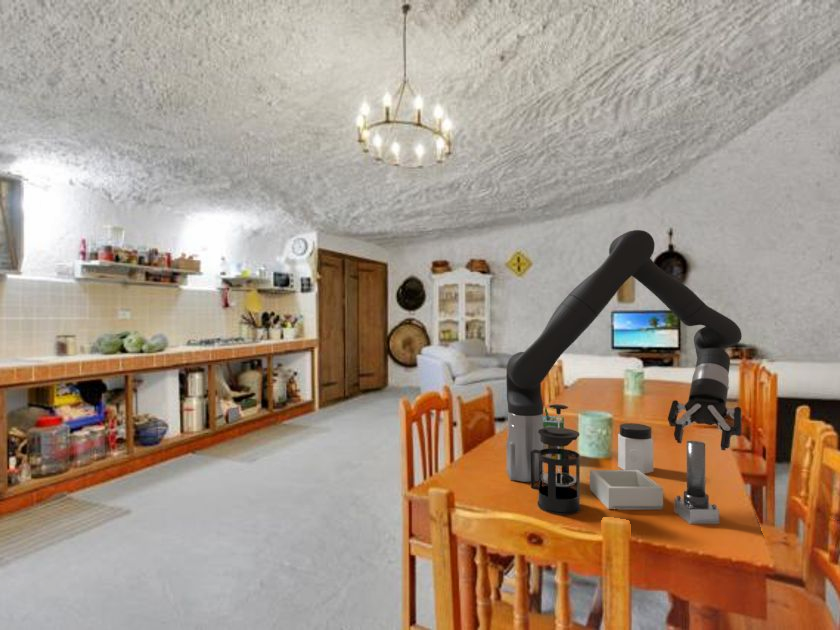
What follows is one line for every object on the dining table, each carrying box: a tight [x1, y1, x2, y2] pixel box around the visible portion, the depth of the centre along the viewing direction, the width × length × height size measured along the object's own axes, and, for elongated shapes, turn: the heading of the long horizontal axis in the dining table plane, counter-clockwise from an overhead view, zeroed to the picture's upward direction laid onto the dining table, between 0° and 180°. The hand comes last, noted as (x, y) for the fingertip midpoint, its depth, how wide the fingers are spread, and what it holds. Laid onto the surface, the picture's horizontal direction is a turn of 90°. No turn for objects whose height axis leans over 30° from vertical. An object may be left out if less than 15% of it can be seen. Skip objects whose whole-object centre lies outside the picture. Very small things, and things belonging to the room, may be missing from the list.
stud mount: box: [673, 494, 720, 525], centre depth 99 cm, size 6×6×4 cm
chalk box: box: [543, 406, 565, 460], centre depth 142 cm, size 9×9×15 cm
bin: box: [589, 469, 664, 511], centre depth 109 cm, size 12×12×5 cm
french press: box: [530, 403, 582, 516], centre depth 106 cm, size 12×9×23 cm
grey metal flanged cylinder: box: [683, 440, 710, 508], centre depth 99 cm, size 5×5×13 cm
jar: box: [617, 422, 654, 475], centre depth 130 cm, size 9×8×12 cm
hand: (700, 444), depth 103 cm, fingers open, 8 cm apart
